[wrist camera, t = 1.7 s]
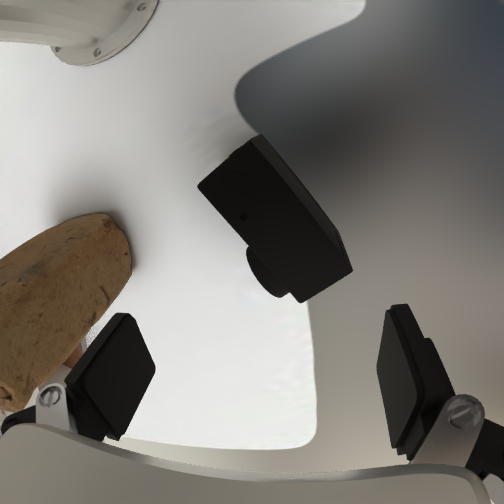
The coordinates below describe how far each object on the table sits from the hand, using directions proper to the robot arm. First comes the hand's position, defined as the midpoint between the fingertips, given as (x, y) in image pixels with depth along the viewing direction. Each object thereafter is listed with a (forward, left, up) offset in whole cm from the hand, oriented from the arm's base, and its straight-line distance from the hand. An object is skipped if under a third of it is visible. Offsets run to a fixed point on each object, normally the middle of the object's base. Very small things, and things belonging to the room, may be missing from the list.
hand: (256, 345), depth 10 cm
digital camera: (-1, 0, -16) cm, 16 cm away
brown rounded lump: (+2, -19, -16) cm, 25 cm away
